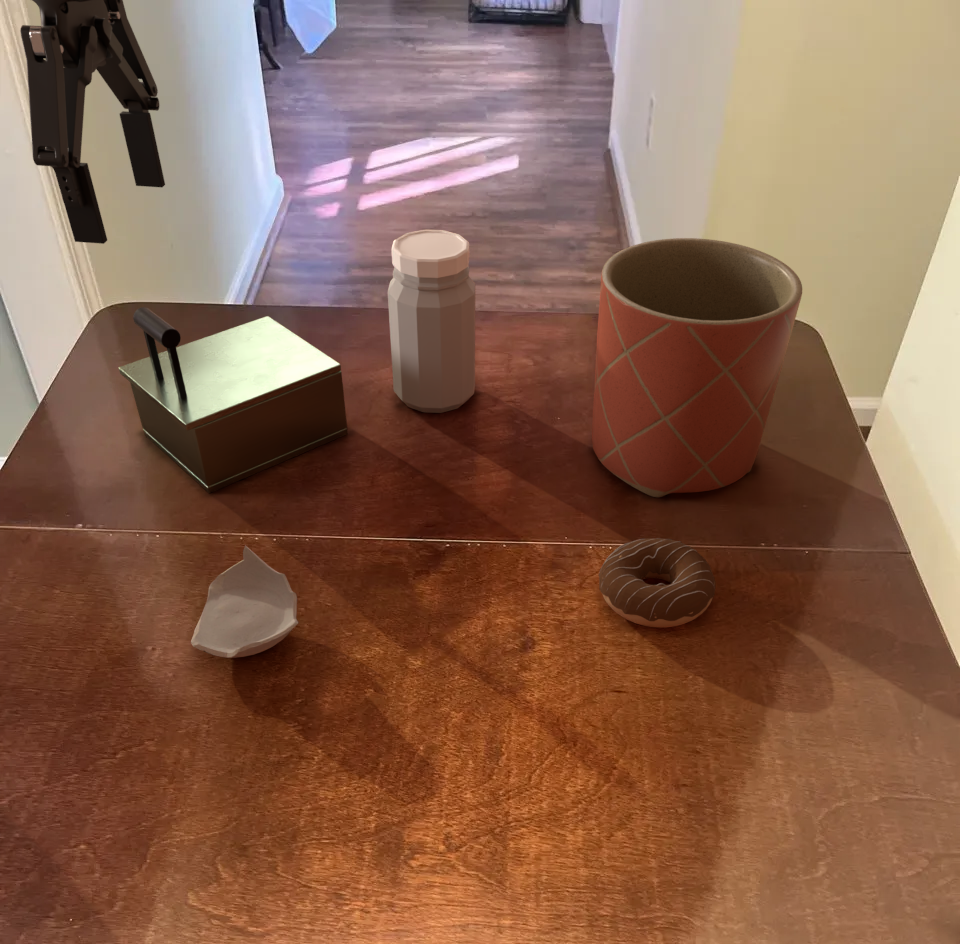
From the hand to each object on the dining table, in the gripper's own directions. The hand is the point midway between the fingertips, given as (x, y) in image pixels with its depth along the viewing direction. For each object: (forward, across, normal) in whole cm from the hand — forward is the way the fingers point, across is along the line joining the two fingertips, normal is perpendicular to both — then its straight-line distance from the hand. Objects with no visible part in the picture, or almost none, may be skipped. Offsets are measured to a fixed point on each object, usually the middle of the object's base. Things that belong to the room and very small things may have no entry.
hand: (122, 212), depth 92 cm
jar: (+25, +14, -26) cm, 39 cm away
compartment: (+25, +2, -7) cm, 26 cm away
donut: (+25, -18, -53) cm, 61 cm away
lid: (+17, +2, -7) cm, 19 cm away
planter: (+25, +6, -54) cm, 60 cm away
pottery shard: (+25, -29, -18) cm, 42 cm away
